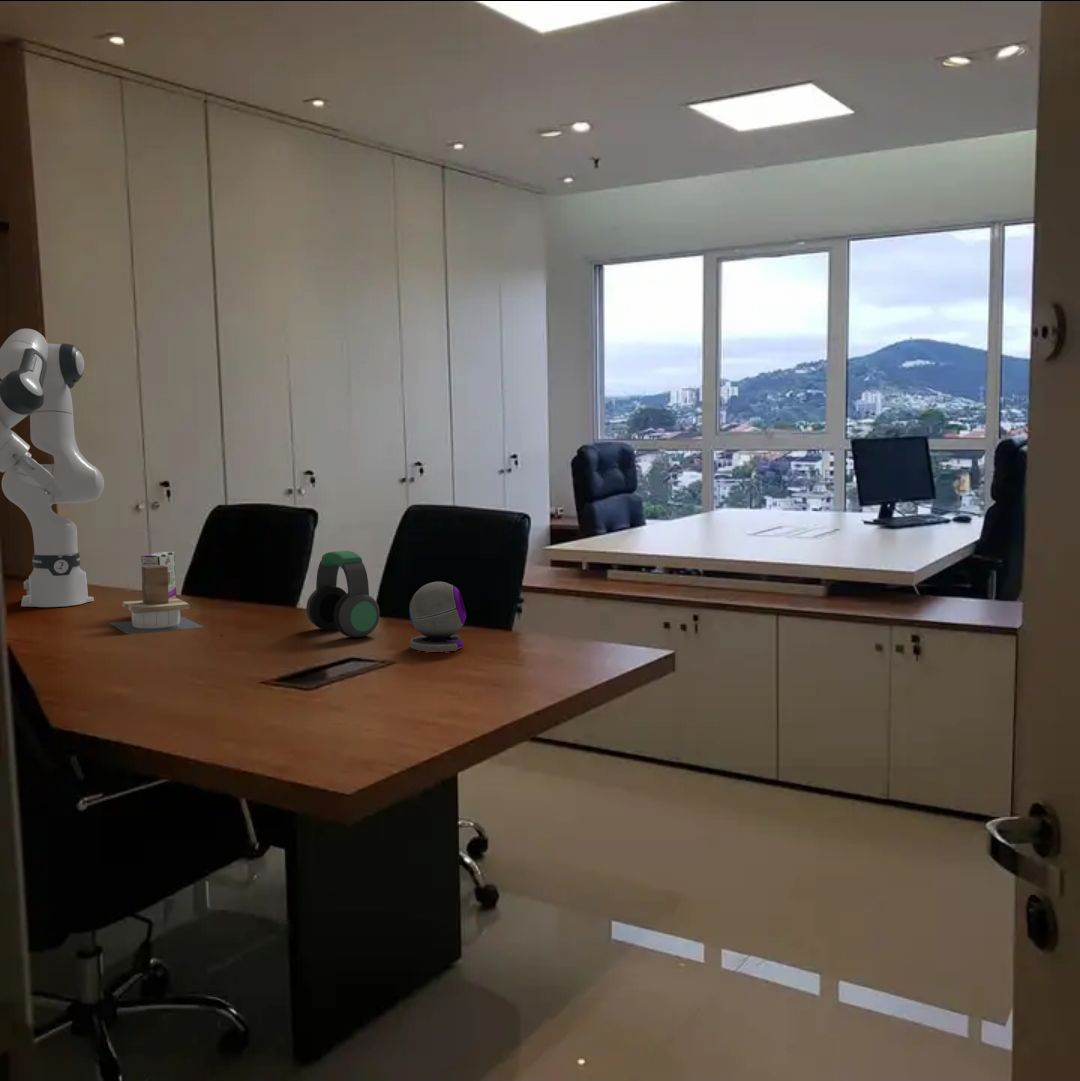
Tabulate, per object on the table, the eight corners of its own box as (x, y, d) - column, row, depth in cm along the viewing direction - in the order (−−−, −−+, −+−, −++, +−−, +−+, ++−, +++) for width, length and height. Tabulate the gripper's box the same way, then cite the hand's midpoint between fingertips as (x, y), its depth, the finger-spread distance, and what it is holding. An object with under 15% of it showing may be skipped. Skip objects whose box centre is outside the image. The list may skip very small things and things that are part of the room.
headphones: (303, 630, 262) (301, 549, 260) (341, 625, 269) (341, 546, 267) (343, 642, 248) (342, 556, 246) (383, 636, 255) (383, 553, 253)
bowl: (127, 623, 267) (127, 606, 266) (172, 619, 273) (171, 602, 273) (139, 630, 258) (138, 612, 257) (185, 626, 264) (184, 608, 264)
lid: (122, 606, 267) (120, 565, 266) (175, 601, 274) (174, 562, 273) (134, 613, 256) (133, 571, 255) (189, 608, 263) (188, 567, 262)
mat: (109, 624, 268) (109, 623, 268) (181, 617, 278) (181, 616, 278) (128, 636, 253) (128, 634, 253) (204, 628, 263) (204, 626, 263)
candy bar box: (159, 613, 285) (156, 551, 284) (177, 612, 285) (175, 551, 284) (142, 618, 274) (140, 555, 273) (162, 618, 274) (159, 555, 273)
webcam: (464, 653, 237) (464, 586, 235) (406, 652, 236) (406, 585, 235) (467, 641, 249) (467, 578, 248) (412, 641, 249) (412, 577, 248)
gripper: (28, 445, 245) (75, 487, 251) (12, 444, 261) (57, 483, 268) (8, 465, 242) (56, 507, 249) (-7, 462, 259) (38, 501, 266)
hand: (56, 494), depth 259 cm, fingers open, 8 cm apart
